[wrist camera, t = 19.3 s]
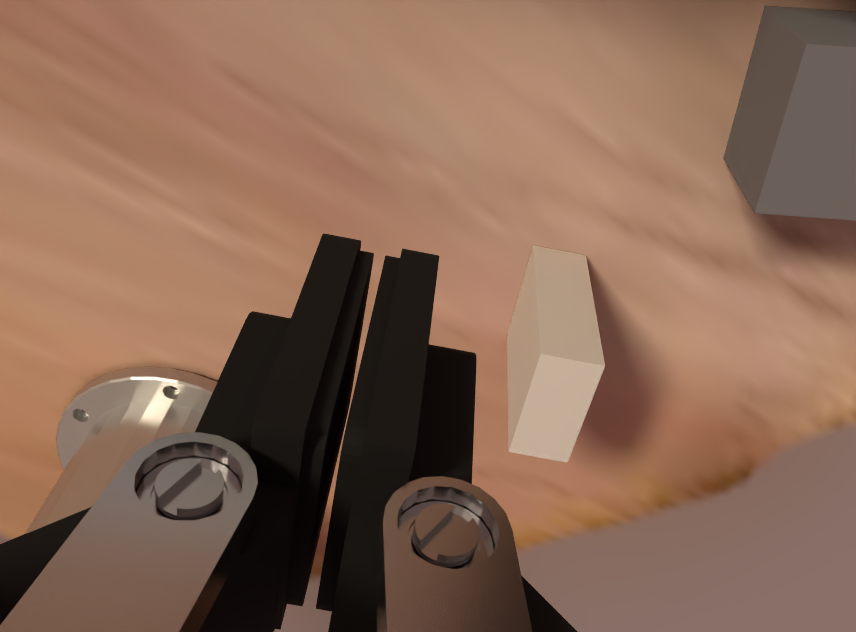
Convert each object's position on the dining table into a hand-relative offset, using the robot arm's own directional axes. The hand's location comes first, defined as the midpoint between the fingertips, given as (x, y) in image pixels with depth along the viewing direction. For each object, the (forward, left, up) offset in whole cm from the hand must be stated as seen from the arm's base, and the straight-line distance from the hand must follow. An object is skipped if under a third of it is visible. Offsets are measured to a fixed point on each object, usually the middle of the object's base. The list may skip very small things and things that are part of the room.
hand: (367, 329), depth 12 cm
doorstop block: (-1, -15, -22) cm, 27 cm away
